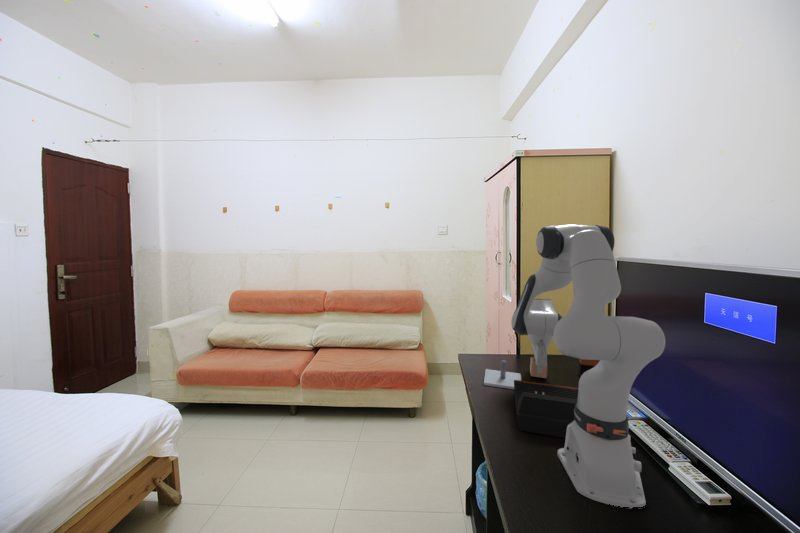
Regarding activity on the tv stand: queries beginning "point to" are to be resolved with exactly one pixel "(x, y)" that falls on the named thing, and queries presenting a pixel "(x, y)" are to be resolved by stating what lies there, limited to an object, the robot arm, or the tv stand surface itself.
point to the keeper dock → (500, 382)
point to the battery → (586, 365)
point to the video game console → (544, 407)
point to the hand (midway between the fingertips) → (538, 369)
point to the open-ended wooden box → (534, 369)
